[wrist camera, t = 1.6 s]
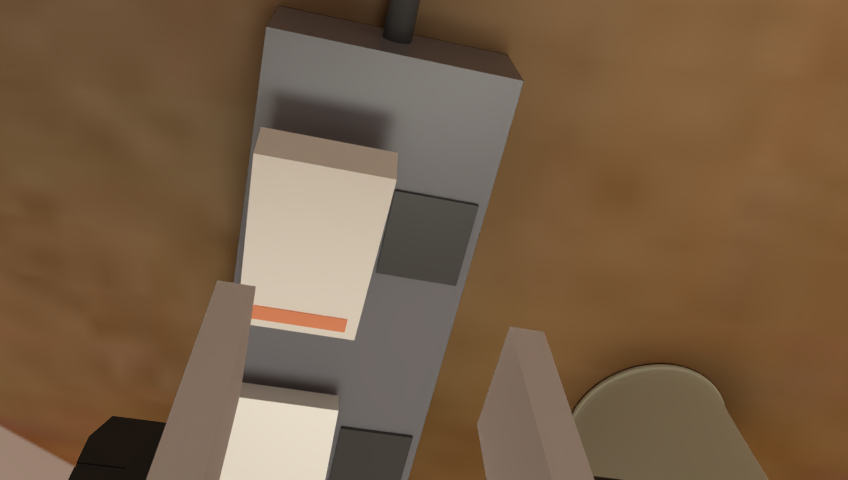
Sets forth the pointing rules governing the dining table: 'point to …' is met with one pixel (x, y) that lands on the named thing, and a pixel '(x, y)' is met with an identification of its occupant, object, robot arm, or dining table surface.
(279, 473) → the small box
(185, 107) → the dining table surface
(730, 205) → the dining table surface
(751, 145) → the dining table surface
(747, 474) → the can
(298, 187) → the block
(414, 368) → the rocker switch panel
